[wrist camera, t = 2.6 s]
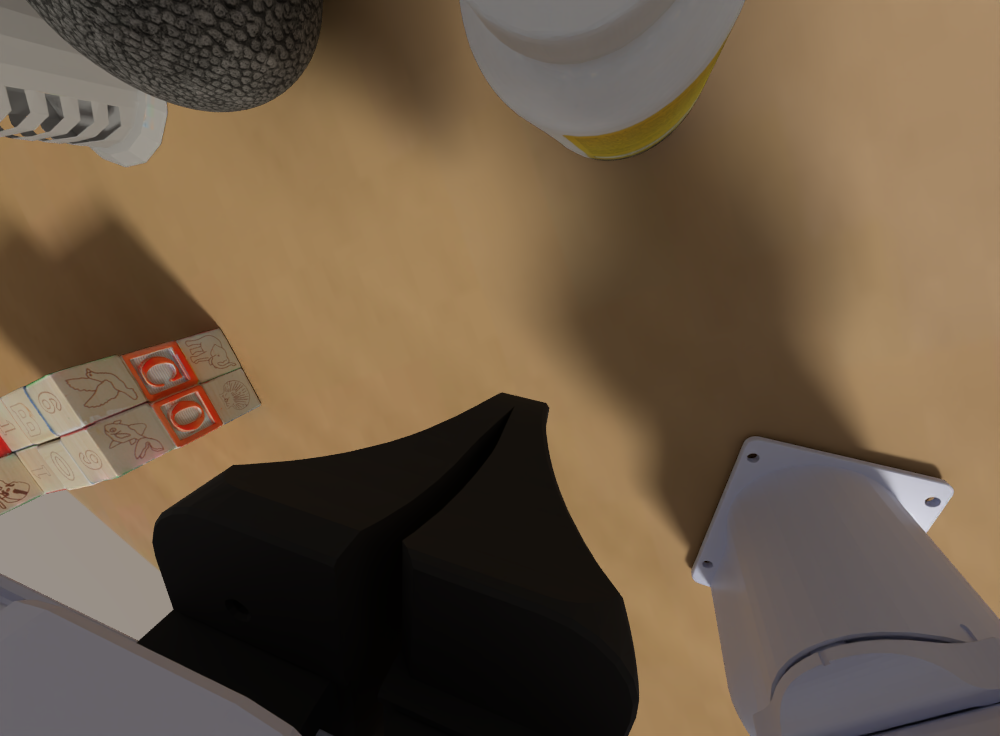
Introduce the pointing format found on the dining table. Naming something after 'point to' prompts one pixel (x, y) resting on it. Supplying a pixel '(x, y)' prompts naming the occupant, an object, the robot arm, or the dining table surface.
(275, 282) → the dining table surface
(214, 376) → the stack of blocks
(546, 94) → the pill bottle
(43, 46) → the french press
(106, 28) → the decorative ball
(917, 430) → the dining table surface
